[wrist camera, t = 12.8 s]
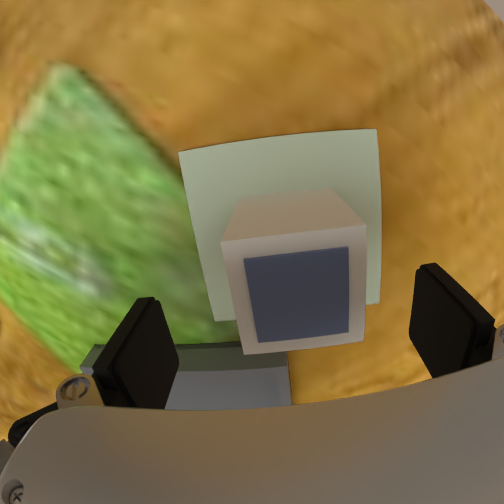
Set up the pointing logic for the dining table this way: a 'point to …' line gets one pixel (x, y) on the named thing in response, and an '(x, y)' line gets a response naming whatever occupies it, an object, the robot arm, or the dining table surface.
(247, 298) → the labelled box
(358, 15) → the dining table surface
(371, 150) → the mat
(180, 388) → the bin
